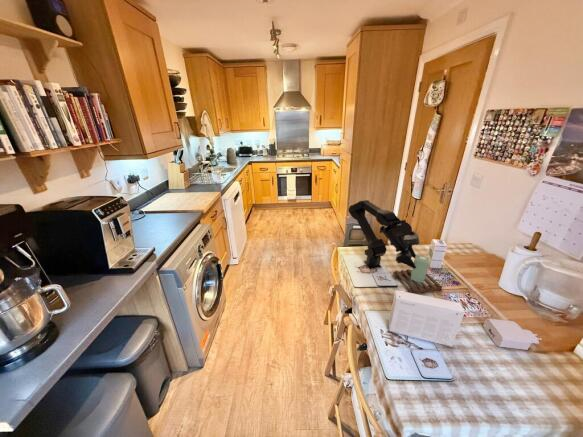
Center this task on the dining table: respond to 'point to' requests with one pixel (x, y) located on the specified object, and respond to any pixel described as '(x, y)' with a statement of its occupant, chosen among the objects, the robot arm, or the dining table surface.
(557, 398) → the dining table surface
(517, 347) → the charger
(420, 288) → the rack
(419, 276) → the green rectangular box
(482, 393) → the dining table surface
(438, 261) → the syrup box
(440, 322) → the skincare box
